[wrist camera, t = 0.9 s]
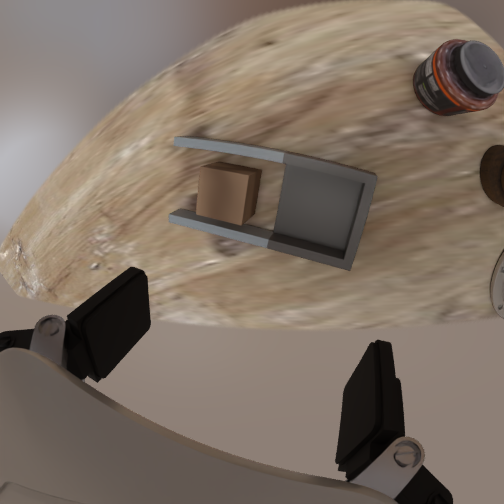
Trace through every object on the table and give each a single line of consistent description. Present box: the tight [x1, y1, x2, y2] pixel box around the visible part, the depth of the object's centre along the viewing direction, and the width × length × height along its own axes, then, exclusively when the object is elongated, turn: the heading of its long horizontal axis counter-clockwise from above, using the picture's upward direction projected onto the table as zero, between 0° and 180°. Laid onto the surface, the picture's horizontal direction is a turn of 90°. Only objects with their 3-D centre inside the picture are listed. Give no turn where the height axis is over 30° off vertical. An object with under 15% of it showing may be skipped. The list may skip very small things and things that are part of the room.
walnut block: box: [196, 162, 262, 226], centre depth 29 cm, size 5×5×4 cm
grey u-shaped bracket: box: [169, 136, 378, 271], centre depth 29 cm, size 21×10×2 cm, turn 81°
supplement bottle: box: [413, 39, 504, 116], centre depth 15 cm, size 6×6×11 cm
